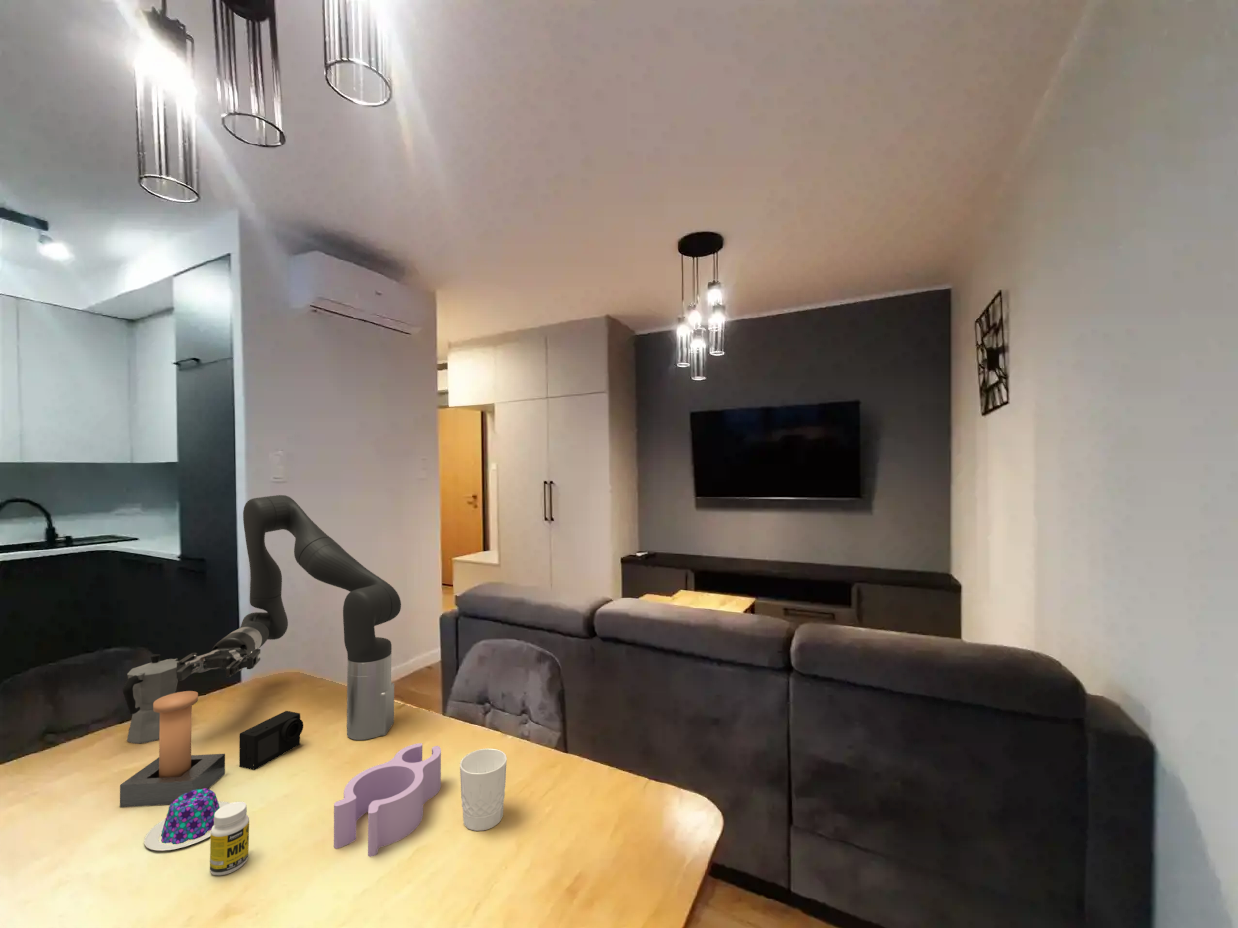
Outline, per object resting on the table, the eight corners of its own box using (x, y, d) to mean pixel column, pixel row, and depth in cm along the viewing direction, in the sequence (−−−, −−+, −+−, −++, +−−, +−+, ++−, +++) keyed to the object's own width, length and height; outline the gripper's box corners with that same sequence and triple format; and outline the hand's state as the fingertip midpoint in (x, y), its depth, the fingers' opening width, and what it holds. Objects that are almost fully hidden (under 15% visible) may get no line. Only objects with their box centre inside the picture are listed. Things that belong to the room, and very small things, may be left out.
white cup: (514, 808, 92) (515, 752, 92) (489, 838, 85) (490, 777, 85) (477, 799, 95) (477, 744, 95) (449, 827, 87) (450, 768, 88)
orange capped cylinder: (205, 778, 101) (206, 690, 101) (180, 799, 94) (181, 705, 95) (169, 780, 100) (170, 691, 100) (142, 801, 94) (143, 706, 94)
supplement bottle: (227, 879, 76) (228, 821, 76) (201, 873, 77) (202, 817, 77) (256, 855, 81) (257, 801, 81) (231, 850, 82) (232, 797, 82)
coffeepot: (152, 720, 123) (153, 645, 124) (196, 718, 125) (197, 643, 125) (98, 756, 108) (99, 670, 108) (149, 752, 110) (150, 668, 110)
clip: (401, 774, 103) (402, 739, 103) (457, 784, 99) (457, 748, 100) (319, 845, 83) (320, 802, 83) (385, 861, 80) (385, 816, 80)
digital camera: (258, 772, 103) (258, 737, 103) (238, 767, 105) (239, 732, 105) (304, 745, 113) (304, 713, 113) (285, 741, 115) (286, 709, 115)
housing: (224, 773, 102) (225, 753, 102) (192, 803, 93) (192, 780, 93) (159, 777, 101) (159, 756, 101) (119, 807, 92) (120, 784, 92)
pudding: (162, 815, 90) (162, 785, 91) (244, 798, 95) (244, 770, 95) (129, 864, 79) (129, 830, 79) (224, 842, 84) (224, 810, 84)
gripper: (203, 633, 122) (163, 659, 106) (272, 629, 126) (244, 653, 110) (202, 665, 122) (162, 695, 106) (271, 660, 126) (243, 689, 110)
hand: (204, 674), depth 108 cm, fingers open, 8 cm apart
